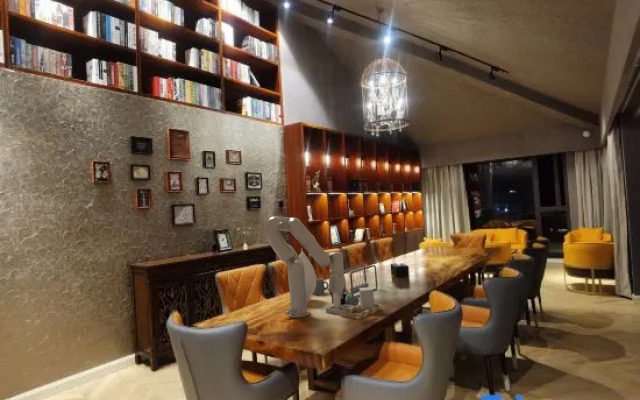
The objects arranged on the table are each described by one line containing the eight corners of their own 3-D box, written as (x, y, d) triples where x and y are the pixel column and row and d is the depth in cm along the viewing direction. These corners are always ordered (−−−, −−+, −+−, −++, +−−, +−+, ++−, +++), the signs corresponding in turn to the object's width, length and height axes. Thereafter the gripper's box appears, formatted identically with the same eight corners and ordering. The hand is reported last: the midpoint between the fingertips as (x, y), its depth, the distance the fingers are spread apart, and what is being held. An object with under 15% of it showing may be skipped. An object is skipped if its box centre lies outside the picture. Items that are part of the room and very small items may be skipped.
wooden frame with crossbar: (357, 319, 218) (357, 314, 218) (340, 316, 226) (340, 311, 226) (382, 309, 234) (381, 304, 234) (365, 306, 243) (365, 302, 243)
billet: (339, 311, 232) (338, 289, 232) (331, 310, 236) (330, 288, 236) (346, 309, 237) (345, 287, 237) (338, 308, 241) (337, 286, 241)
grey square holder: (350, 308, 242) (349, 299, 242) (340, 306, 247) (339, 298, 247) (358, 305, 247) (358, 296, 247) (348, 303, 253) (347, 295, 253)
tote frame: (341, 315, 228) (341, 310, 228) (326, 312, 236) (325, 308, 236) (355, 310, 237) (354, 305, 237) (339, 307, 245) (339, 303, 245)
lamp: (289, 303, 264) (286, 249, 264) (298, 297, 279) (295, 246, 279) (312, 303, 259) (308, 249, 259) (320, 297, 274) (316, 246, 274)
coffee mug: (308, 294, 286) (307, 280, 286) (313, 291, 295) (312, 277, 295) (325, 295, 280) (324, 280, 280) (330, 291, 290) (329, 277, 290)
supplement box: (372, 308, 238) (371, 286, 238) (375, 311, 231) (373, 289, 231) (360, 309, 238) (358, 287, 238) (362, 312, 230) (360, 290, 230)
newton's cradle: (365, 288, 293) (364, 263, 293) (378, 289, 286) (376, 264, 286) (340, 297, 270) (338, 271, 270) (353, 299, 263) (350, 272, 263)
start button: (349, 305, 244) (349, 295, 244) (344, 304, 247) (344, 295, 247) (353, 304, 247) (353, 294, 247) (348, 303, 250) (348, 293, 250)
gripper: (322, 272, 240) (323, 303, 240) (344, 275, 228) (346, 307, 228) (330, 271, 245) (331, 300, 245) (352, 273, 233) (354, 304, 233)
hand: (338, 303), depth 236 cm, fingers closed on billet, 6 cm apart
